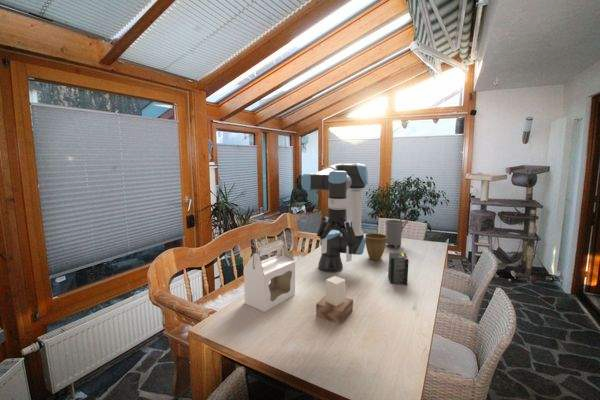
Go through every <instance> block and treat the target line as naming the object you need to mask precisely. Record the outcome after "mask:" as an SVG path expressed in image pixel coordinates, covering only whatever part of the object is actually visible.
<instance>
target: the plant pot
mask: <svg viewBox="0 0 600 400" xmlns="http://www.w3.org/2000/svg"><path fill="white" fill-rule="evenodd" d="M364 235H365V236H366V242H365V247H366V251H367V255H368V257H369V259H370V260H372V261H380V260H381V259H382V257H383V255H384V252H385V248H386V246H387V245H386V244H387V243H386V242H387V236H386V234H383V233H364Z"/></svg>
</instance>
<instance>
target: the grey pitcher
mask: <svg viewBox="0 0 600 400" xmlns="http://www.w3.org/2000/svg"><path fill="white" fill-rule="evenodd" d="M402 218H406V220H404V221H402ZM409 221H410V220H409V217H408V216H407V215H400V217H399V219H386V220H385V221H384V222H385V227H386V228H385V235H386V236H387V242H386V244H387V245H390V246H394V248H395V250H397V248H398V246H400V245H402V233H403V230H404V228H405V226H406V225H407V224H408V223H409Z"/></svg>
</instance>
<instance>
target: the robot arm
mask: <svg viewBox="0 0 600 400" xmlns="http://www.w3.org/2000/svg"><path fill="white" fill-rule="evenodd" d="M300 182H301V183H300V184H301V187H302V189H303V190H307V191H328V197H327V198H328V199H327V201H328V202H327V203H328V204H327V205H328V206H327V207H328V208H327V216H324V217H322V219H321V220H322V221H321V224H320V227H319V230H317V233H316V236H317V237H318V238H320V246H321V255H320V259H319V261H318V269H319V270H320V271H323V272H328V273H337V272H341V271H342V270H343V267H344V264H343V261H342V258H341V254H345V255H346V256H345V262H347V263H349V262H352V259H353V258H352V257H353V255H355V256H356V255H357V256H358V255H362V254H364V252H365V247H366V243H365V242H366V236H365V232H364V231H363V230H362V221H363V220H362V217H363V216H362V215H363V212H362V211H363V190H365V189H366V186H367V185H368V184H369V174H368V168H367V165H366V164H364V163H336V164H331V165H329V166H325V167H324V168H323V169H322V170H319V171H317V172H314V173H303V174H302V176H301V179H300Z"/></svg>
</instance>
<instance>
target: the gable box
mask: <svg viewBox="0 0 600 400" xmlns="http://www.w3.org/2000/svg"><path fill="white" fill-rule="evenodd" d="M275 251H276V254H275V255H273V256H271V257H268V258H266V259H264V260H261V257H262V256H265V255H267V254H270V253H273V252H275ZM243 281H244V282H243V283H244V286H243V287H244V288H243V289H244V304H246V305H247V306H250V307H252V308H255V309H257V310H258V311H261V312H263V313H265V312H267V311H269V310H271V309H273V308H274V307H276V306H278V305H279V304H281V303H283V302H284V301H286V300H287V299H289V298H291V297H293V296H295V294H296V260H295V259H294V257H293V256H292V254H291V252H290V251H289V250H288V248H287V246H286V244H285V242H284V241H283V240H282V239H278V240H274V241H272V242H268V243H265V244H263V245H259V246H257V248H256V253H253V254H252V255H251V257H250V258H249V260H248V262H247V263H246V265H245V266H244V267H243Z"/></svg>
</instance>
